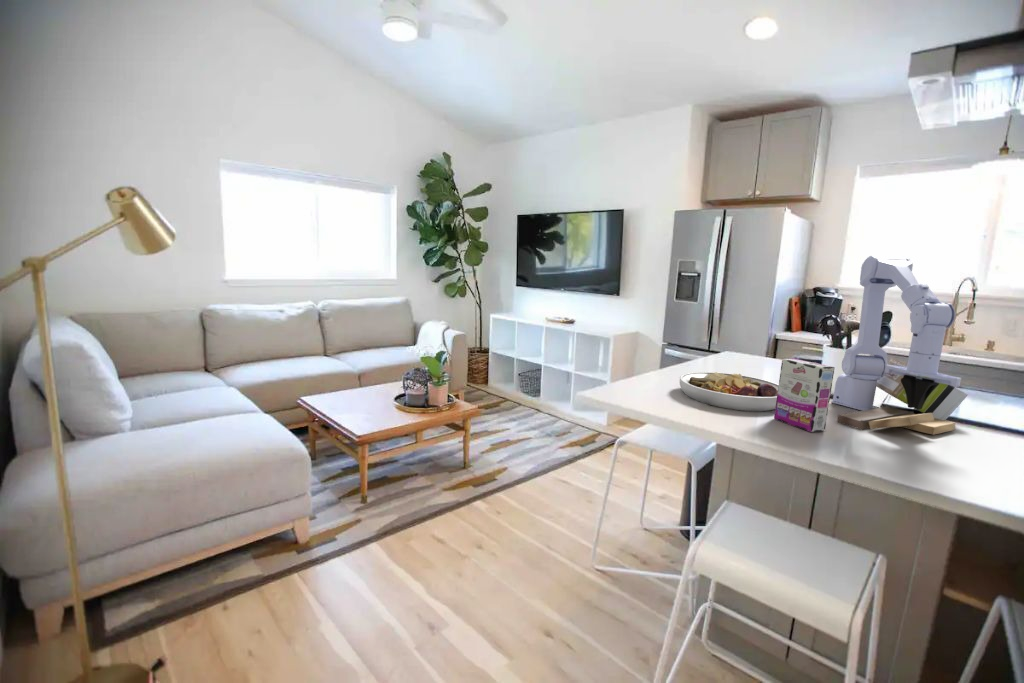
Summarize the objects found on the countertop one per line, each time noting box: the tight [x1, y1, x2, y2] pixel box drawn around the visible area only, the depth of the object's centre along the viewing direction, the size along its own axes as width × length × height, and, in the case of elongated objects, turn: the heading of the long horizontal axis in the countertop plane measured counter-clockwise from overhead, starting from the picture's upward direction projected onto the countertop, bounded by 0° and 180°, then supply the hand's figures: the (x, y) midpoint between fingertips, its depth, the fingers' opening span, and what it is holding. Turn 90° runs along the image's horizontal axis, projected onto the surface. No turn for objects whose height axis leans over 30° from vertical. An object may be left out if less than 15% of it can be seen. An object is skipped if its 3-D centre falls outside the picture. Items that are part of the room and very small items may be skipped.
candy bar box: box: [773, 358, 836, 433], centre depth 122 cm, size 11×5×16 cm, turn 21°
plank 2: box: [898, 413, 956, 436], centre depth 125 cm, size 9×11×2 cm
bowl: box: [679, 371, 779, 412], centre depth 145 cm, size 30×30×8 cm
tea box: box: [876, 356, 969, 421], centre depth 137 cm, size 15×10×15 cm
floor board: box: [836, 405, 914, 430], centre depth 129 cm, size 6×24×2 cm, turn 116°
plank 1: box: [869, 413, 934, 430], centre depth 120 cm, size 9×11×2 cm
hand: (914, 408), depth 117 cm, fingers closed
